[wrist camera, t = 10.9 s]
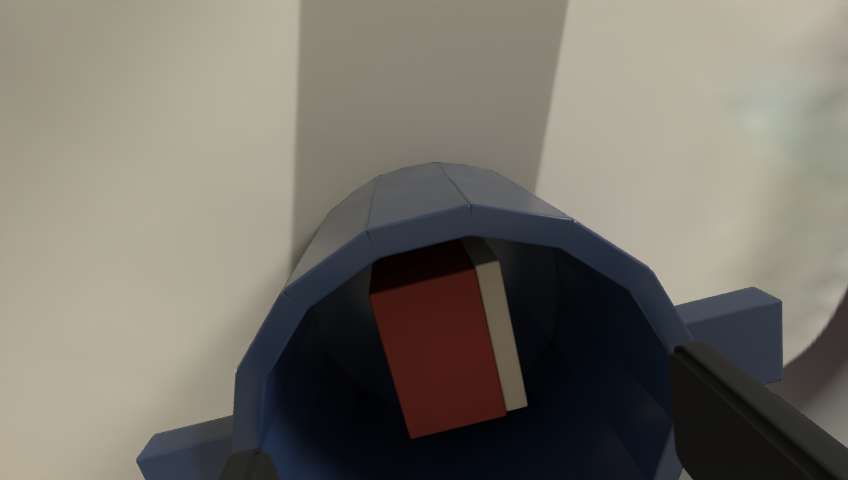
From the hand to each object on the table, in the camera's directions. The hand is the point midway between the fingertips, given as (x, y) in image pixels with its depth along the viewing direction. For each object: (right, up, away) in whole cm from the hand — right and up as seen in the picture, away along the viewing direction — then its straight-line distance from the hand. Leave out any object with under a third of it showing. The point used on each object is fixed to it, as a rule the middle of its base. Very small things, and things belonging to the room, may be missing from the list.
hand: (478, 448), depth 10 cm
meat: (-1, +2, +9) cm, 9 cm away
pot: (-1, +2, +9) cm, 9 cm away
